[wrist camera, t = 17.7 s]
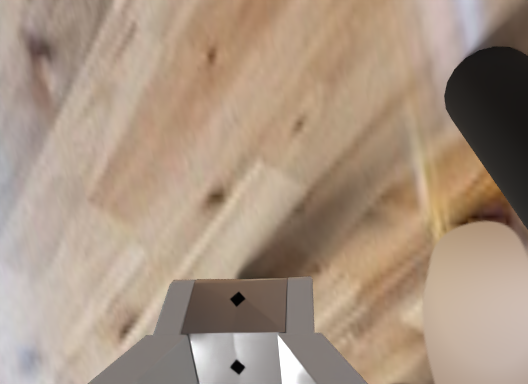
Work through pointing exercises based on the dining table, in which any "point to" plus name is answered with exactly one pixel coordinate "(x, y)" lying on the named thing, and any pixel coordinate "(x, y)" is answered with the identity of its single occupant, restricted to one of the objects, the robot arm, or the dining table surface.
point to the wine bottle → (495, 117)
